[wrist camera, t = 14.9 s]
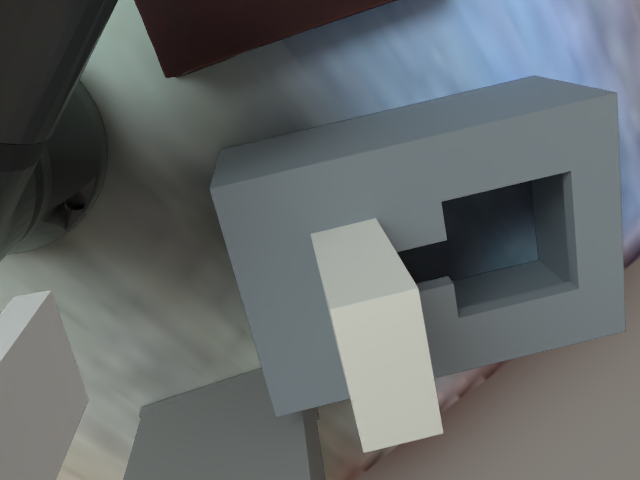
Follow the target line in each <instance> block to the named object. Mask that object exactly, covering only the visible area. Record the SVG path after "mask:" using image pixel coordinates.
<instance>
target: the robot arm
mask: <svg viewBox="0 0 640 480" xmlns="http://www.w3.org/2000/svg"><path fill="white" fill-rule="evenodd" d="M117 1H118V0H0V261H1V260H2V259H3V258H4V257H5V256H6V255H10V254H17V253H22V252H27V251H31V250H34V249H37V248H40V247H42V246H45V245H47V244H49V243H51V242H53V241H55V240H56V239H58V238H60V237H61V236H63V235H64V234H66V233H67V232H68V231H69V230H71V229H72V228H73V227H74V226H75V225H76V224H77V223H78V222H79V221H80V220H81V218H82V217H83V216H84V215H85V214H86V213H87V212H88V210H89V209H90V208H91V206H92V205H93V203H94V202H95V200H96V198H97V197H98V195H99V193H100V190H101V188H102V185H103V182H104V179H105V175H106V169H107V160H108V149H107V139H106V134H105V129H104V126H103V122H102V119H101V117H100V114H99V112H98V109H97V107H96V105H95V103H94V102H93V100H92V98H91V96H90V95H89V93H88V92H87V90H86V89H85V87H84V86H83V85H82V83H81V82H80V81H79V79H80V77H81V75H82V73H83V71H84V69H85V67H86V65H87V63H88V61H89V58H90V56H91V54H92V52H93V50H94V48H95V46H96V44H97V42H98V40H99V38H100V36H101V34H102V32H103V30H104V28H105V26H106V24H107V22H108V20H109V18H110V16H111V14H112V12H113V9H114V7H115V5H116V3H117ZM88 401H89V399H88V396H87V394H86V391H85V388H84V385H83V382H82V379H81V376H80V373H79V370H78V367H77V364H76V361H75V358H74V355H73V352H72V349H71V346H70V343H69V341H68V338H67V335H66V332H65V329H64V326H63V323H62V320H61V317H60V314H59V311H58V308H57V305H56V302H55V299H54V296H53V293H52V290H49V291H43V292H38V293H32V294H26V295H21V296H15V297H13V299H12V300H11V301H10V302H9V303H8V305H7V306H6V307H5V308H4V309H3V311H2V312H1V313H0V480H56V478H57V476H58V473H59V471H60V468H61V466H62V463H63V461H64V459H65V456H66V454H67V451H68V449H69V446H70V444H71V442H72V439H73V437H74V434H75V432H76V430H77V427H78V425H79V422H80V420H81V417H82V415H83V413H84V410H85V408H86V405H87V403H88Z"/></svg>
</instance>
